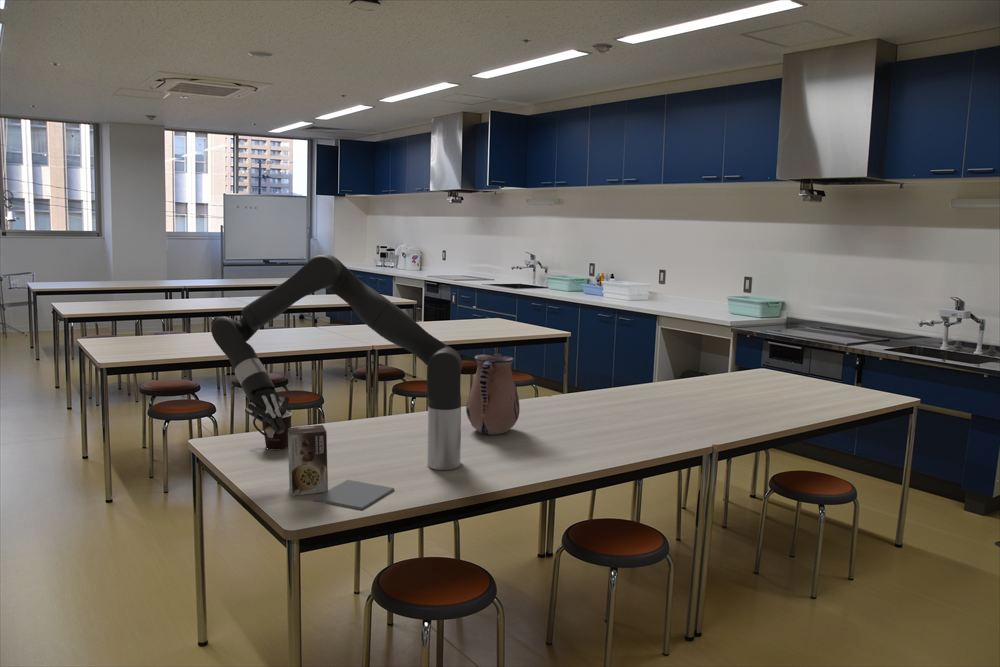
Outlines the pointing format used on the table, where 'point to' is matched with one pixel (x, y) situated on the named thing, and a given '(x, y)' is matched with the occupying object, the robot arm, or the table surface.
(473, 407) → the ceramic pitcher
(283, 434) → the coffee mug
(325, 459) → the coffee box
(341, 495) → the mat
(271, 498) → the table surface
